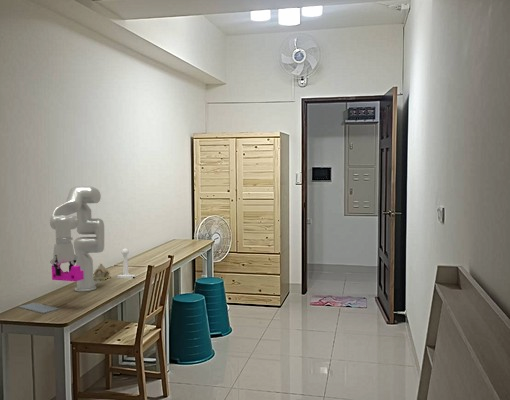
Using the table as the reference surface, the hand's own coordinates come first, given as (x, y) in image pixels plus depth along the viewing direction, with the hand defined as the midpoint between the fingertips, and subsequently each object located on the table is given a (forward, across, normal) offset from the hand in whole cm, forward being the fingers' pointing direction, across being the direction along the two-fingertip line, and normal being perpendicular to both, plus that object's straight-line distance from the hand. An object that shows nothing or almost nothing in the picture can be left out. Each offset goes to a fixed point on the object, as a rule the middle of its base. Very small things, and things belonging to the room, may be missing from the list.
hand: (65, 274), depth 287 cm
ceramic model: (+18, -57, -41) cm, 73 cm away
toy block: (+3, 0, +2) cm, 3 cm away
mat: (+18, +9, -10) cm, 22 cm away
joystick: (+18, -67, -27) cm, 74 cm away
